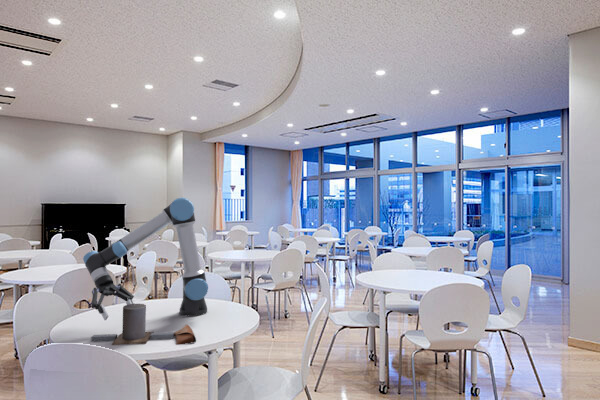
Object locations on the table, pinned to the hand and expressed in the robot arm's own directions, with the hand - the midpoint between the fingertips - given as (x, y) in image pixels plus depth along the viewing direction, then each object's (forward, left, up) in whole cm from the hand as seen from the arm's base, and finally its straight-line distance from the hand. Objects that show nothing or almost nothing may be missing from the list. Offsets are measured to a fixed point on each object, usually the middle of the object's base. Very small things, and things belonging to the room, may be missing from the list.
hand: (120, 315), depth 186 cm
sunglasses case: (-30, +7, -10) cm, 32 cm away
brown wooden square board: (-8, +7, -9) cm, 14 cm away
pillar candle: (-8, +6, -8) cm, 13 cm away
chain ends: (-8, +7, -9) cm, 14 cm away
